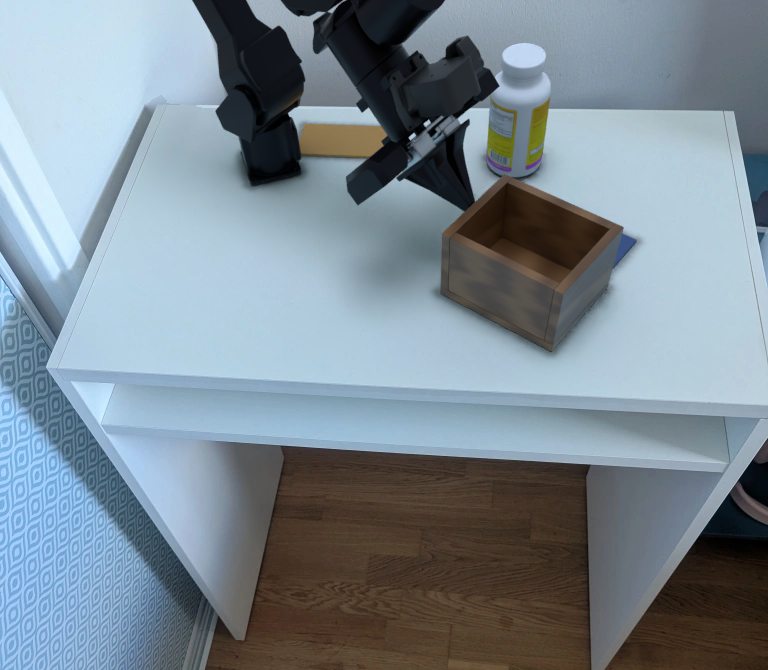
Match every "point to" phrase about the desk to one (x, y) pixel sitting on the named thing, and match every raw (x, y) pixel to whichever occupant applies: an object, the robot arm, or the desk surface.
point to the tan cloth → (341, 140)
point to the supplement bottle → (519, 112)
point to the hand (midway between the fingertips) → (471, 208)
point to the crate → (528, 260)
